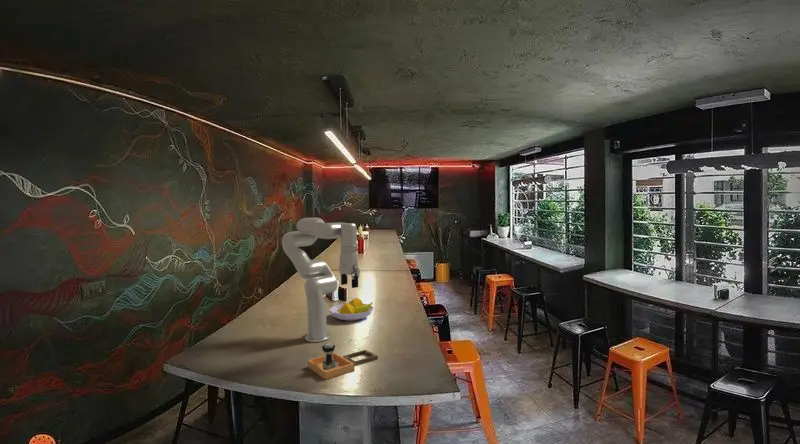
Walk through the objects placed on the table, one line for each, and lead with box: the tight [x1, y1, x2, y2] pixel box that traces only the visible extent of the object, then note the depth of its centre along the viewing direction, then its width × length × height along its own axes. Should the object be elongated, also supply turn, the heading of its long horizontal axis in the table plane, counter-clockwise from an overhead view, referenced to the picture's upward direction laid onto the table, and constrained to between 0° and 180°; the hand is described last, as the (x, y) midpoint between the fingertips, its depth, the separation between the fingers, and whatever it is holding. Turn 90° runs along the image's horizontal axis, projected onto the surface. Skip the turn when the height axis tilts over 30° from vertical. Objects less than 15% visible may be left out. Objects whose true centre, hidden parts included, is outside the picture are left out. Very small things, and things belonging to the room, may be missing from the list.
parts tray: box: [307, 352, 356, 381], centre depth 162 cm, size 16×13×3 cm
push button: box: [321, 342, 338, 369], centre depth 162 cm, size 7×5×10 cm
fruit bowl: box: [328, 297, 375, 322], centre depth 237 cm, size 28×27×11 cm
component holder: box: [342, 349, 379, 367], centre depth 172 cm, size 10×12×2 cm
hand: (349, 285), depth 183 cm, fingers open, 9 cm apart
